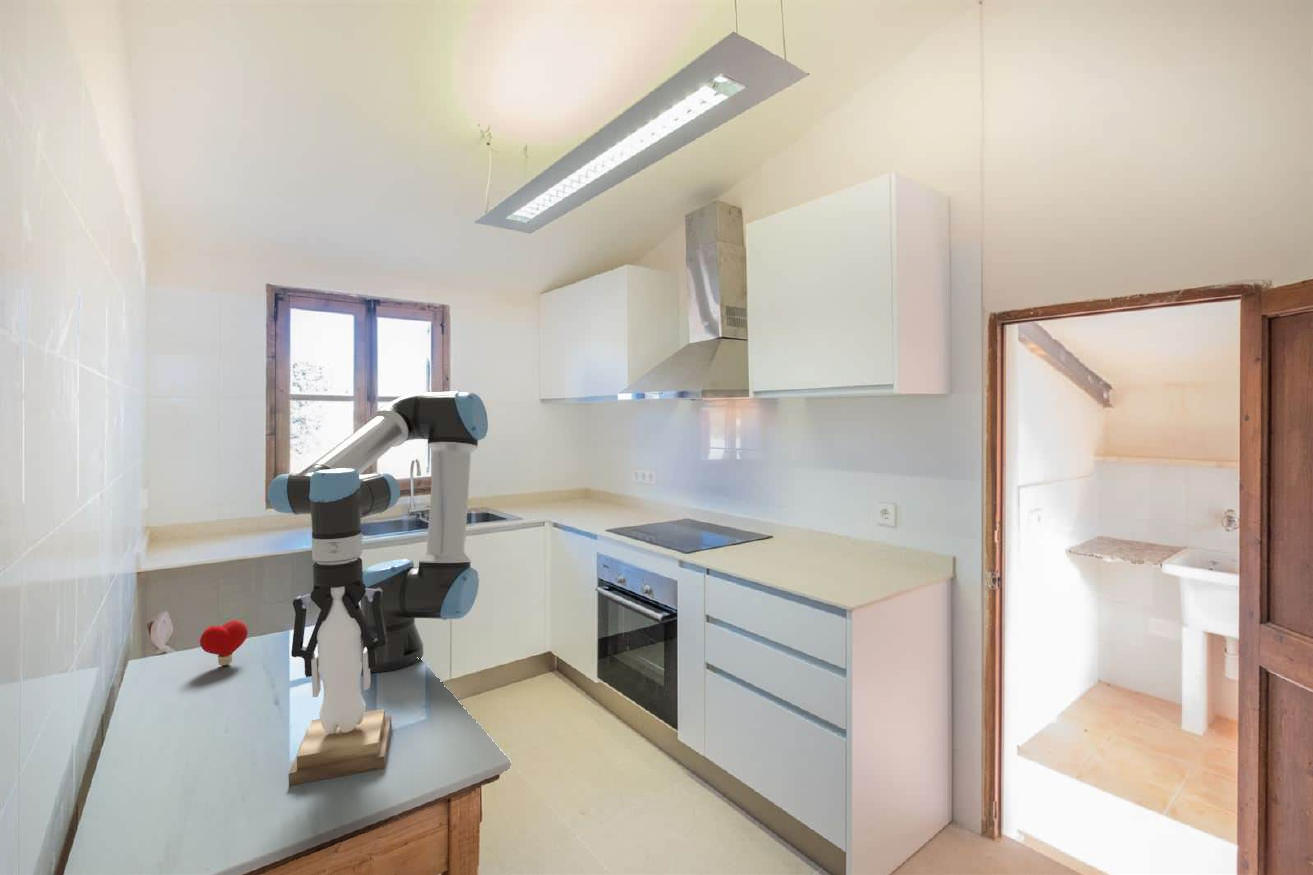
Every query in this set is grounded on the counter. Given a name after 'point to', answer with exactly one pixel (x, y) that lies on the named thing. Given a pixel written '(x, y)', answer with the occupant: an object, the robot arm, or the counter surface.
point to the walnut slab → (343, 763)
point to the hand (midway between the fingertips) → (342, 689)
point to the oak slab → (342, 741)
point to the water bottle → (340, 668)
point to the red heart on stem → (224, 640)
